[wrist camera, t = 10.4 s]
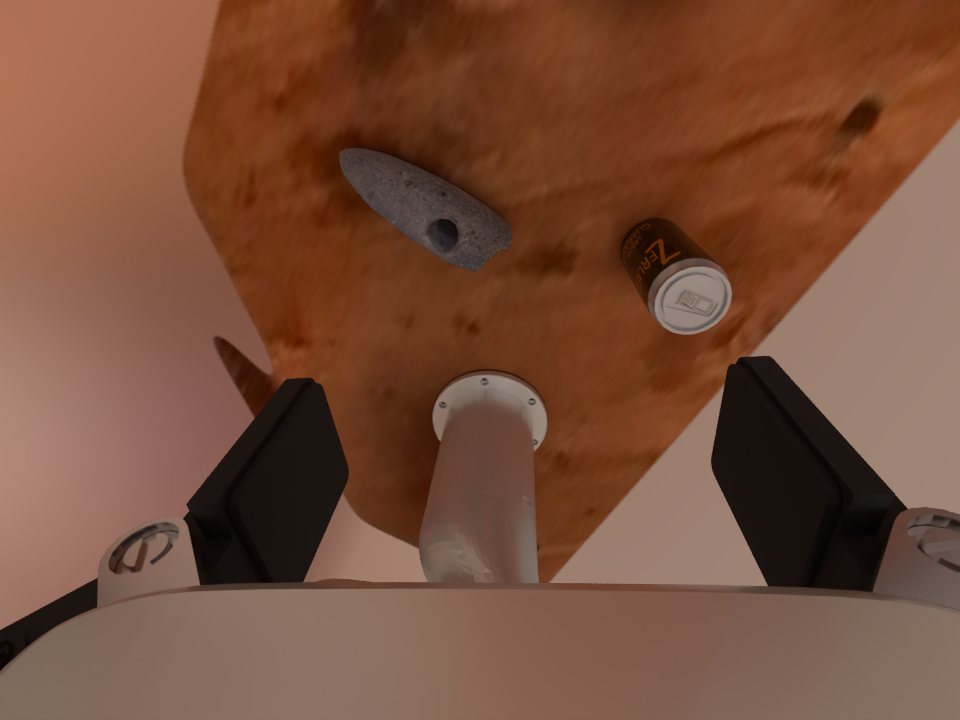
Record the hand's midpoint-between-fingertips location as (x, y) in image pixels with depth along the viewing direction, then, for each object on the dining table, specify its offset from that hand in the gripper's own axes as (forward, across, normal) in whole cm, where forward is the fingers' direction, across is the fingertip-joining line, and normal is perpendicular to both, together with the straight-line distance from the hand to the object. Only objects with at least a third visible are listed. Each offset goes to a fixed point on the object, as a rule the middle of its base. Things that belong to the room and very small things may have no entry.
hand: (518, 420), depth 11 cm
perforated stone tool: (+34, +8, +1) cm, 35 cm away
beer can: (+34, -11, +7) cm, 36 cm away
